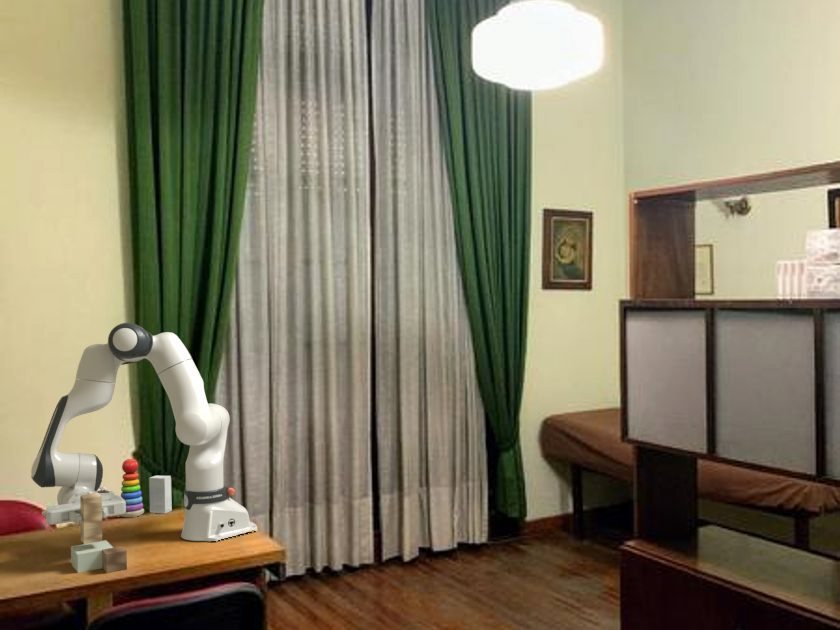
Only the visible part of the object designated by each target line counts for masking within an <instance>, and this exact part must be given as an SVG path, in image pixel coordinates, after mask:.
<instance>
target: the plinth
mask: <svg viewBox="0 0 840 630" xmlns="http://www.w3.org/2000/svg"><path fill="white" fill-rule="evenodd" d="M109 548H114V546H112V544H110V542H108V540H106V539H105V540H102V541H100V542H93V543H87V544H84V543H83V544H77V545H76V544H75V545H71V546H70V562H71V563H70V564H71V566H72V567H73V568H74V569H75V571H76V572H77V573H84V572H90V571H94V570H100V569H103V568H102V550H103V549H109Z"/></svg>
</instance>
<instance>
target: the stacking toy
mask: <svg viewBox="0 0 840 630" xmlns="http://www.w3.org/2000/svg"><path fill="white" fill-rule="evenodd" d="M121 467H122V468H121V469H122V471H123V473H124V474H123V475H122V481H121V485H122V487H120V490H121V492H120V497H121V498H123V499H124V500H125V502H126V512H125V513H124V514H121V515H119V516H120V517H121V518H135V517H138V516H141V515H143V514H144V513H145V509H144V504H143V503H144V502H143V496H142V493H143V492H142V490H140V489H141V486H140V479H139V476H140V474H139V473H138V472H137V470H138V469H139V463H138V461H137V460H136V459H134V458H127V459H126V460H124V461H123V463H122V465H121Z"/></svg>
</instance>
